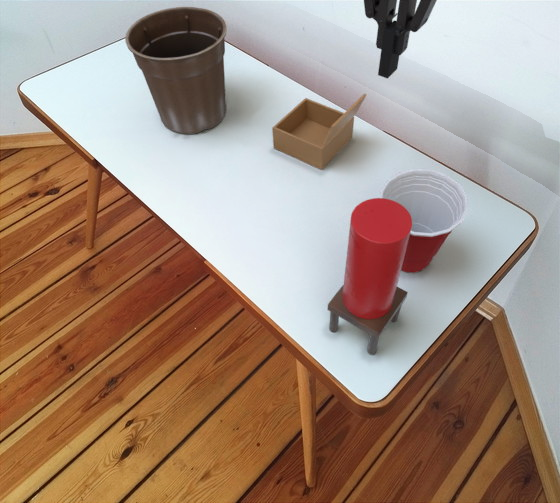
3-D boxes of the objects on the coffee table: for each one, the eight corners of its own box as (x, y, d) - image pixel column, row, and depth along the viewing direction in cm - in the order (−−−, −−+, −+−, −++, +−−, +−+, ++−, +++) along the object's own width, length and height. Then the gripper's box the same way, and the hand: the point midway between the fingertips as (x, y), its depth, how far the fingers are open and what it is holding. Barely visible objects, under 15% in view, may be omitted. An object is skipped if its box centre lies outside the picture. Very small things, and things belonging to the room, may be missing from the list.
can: (401, 292, 62) (423, 213, 51) (377, 328, 59) (394, 252, 48) (358, 269, 64) (370, 189, 53) (332, 303, 61) (339, 225, 51)
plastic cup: (353, 260, 73) (361, 201, 63) (398, 217, 78) (411, 156, 68) (419, 303, 68) (438, 246, 59) (462, 255, 73) (486, 195, 63)
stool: (400, 317, 67) (408, 292, 62) (373, 358, 63) (379, 334, 59) (354, 292, 70) (357, 265, 65) (325, 329, 66) (327, 304, 61)
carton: (352, 137, 89) (354, 116, 86) (321, 170, 85) (322, 149, 81) (305, 118, 93) (305, 97, 90) (273, 148, 88) (272, 127, 85)
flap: (353, 113, 85) (355, 114, 85) (321, 145, 81) (323, 146, 81) (364, 93, 81) (366, 94, 81) (331, 125, 77) (333, 127, 77)
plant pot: (136, 139, 91) (109, 55, 79) (163, 86, 101) (143, 4, 88) (225, 146, 89) (213, 61, 77) (244, 91, 99) (235, 8, 86)
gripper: (495, -137, 51) (443, 73, 70) (379, -156, 56) (360, 45, 75) (464, -114, 48) (418, 102, 66) (343, -137, 53) (332, 70, 71)
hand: (387, 71), depth 70 cm, fingers closed
